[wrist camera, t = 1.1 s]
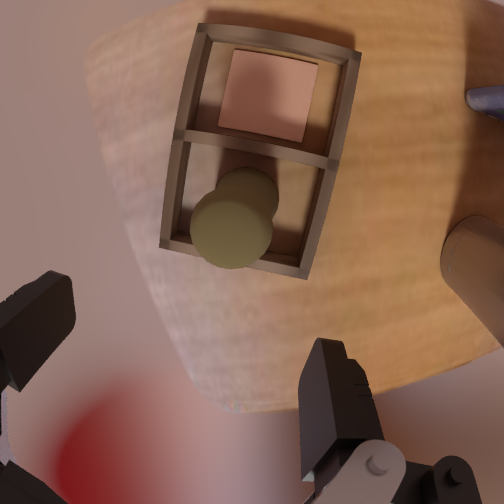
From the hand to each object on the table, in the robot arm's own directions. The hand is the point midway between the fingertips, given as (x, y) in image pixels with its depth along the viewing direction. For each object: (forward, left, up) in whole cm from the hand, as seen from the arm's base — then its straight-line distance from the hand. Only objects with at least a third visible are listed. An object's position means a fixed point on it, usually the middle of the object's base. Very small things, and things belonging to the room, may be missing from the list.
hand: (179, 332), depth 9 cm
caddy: (0, -5, -20) cm, 21 cm away
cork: (0, 0, -20) cm, 20 cm away
